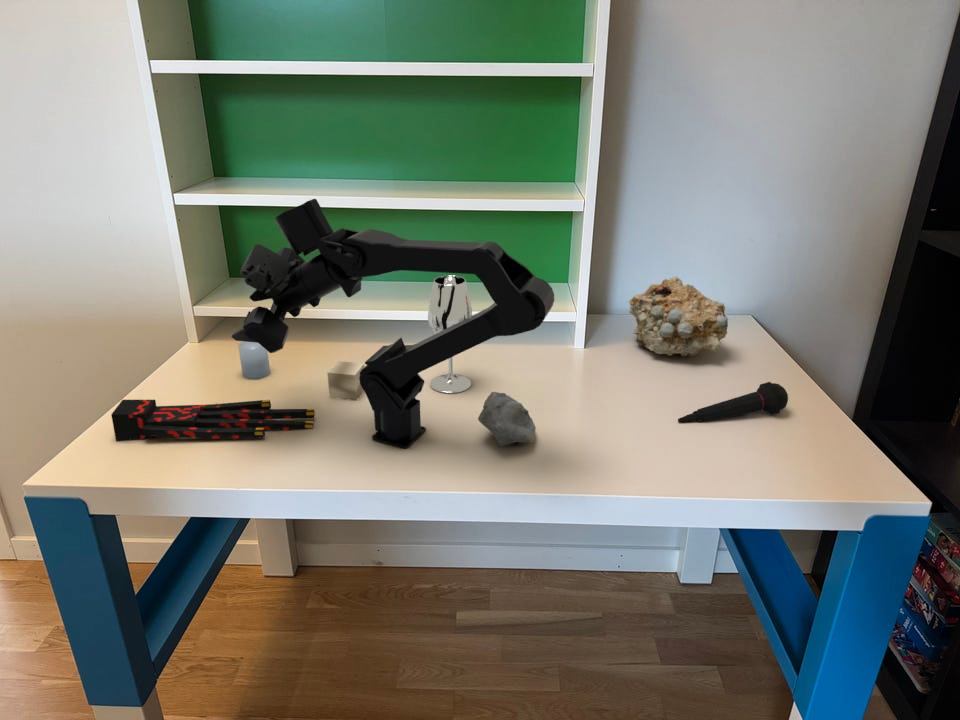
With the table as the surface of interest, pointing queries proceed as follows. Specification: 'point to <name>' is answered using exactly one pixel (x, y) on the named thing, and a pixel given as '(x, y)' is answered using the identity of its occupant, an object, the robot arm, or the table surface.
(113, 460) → the table surface
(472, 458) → the table surface
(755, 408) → the microphone
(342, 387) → the beech cube
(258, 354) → the grey cylinder
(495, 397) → the grey stone
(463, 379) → the wineglass
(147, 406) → the toy
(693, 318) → the rock
